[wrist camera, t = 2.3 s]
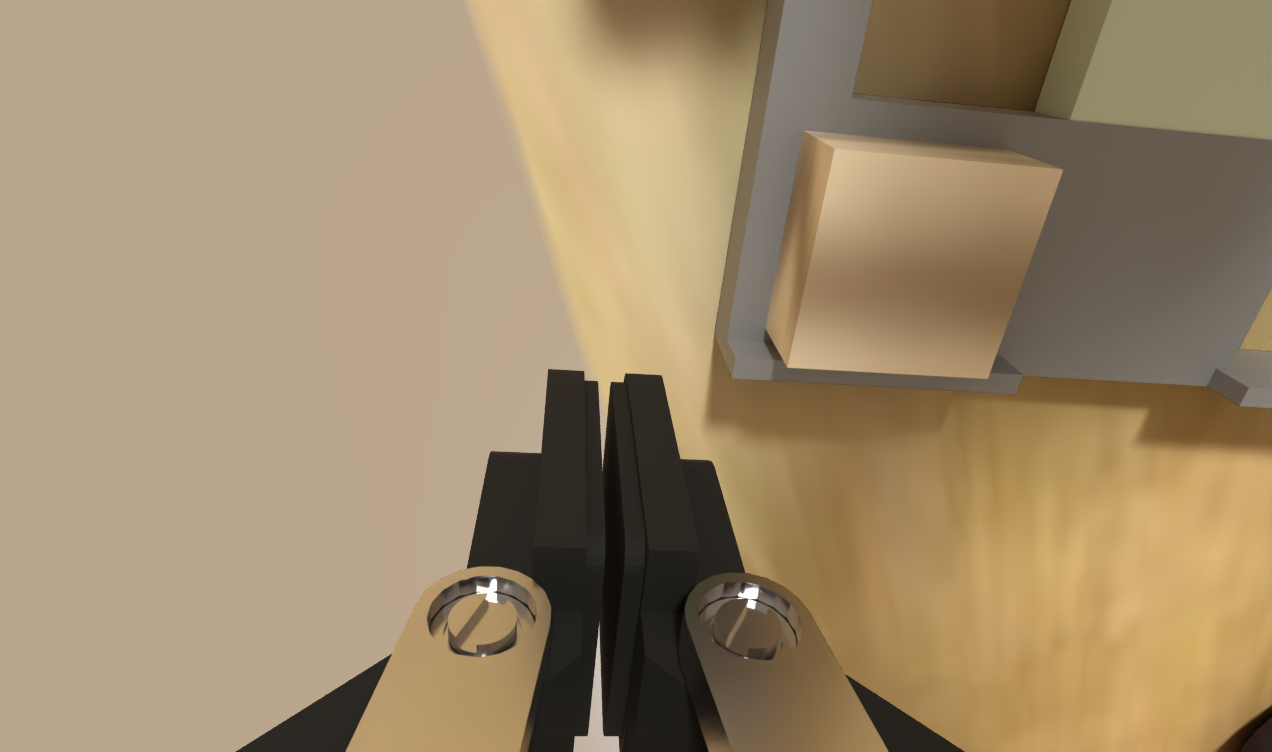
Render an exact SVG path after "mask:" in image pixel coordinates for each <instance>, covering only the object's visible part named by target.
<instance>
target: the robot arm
mask: <svg viewBox="0 0 1272 752" xmlns="http://www.w3.org/2000/svg"><path fill="white" fill-rule="evenodd" d="M541 452H542V453H519V452H495V451H491V452H490V455H489V459H488V464H487V469H486V474H485V479H484V484H483V489H482V494H481V499H480V505H479V509H478V515H477V520H476V525H475V530H474V535H473V540H472V545H471V550H470V556H469V560H468V565H467V569H464V570H459V571H457V572H455V573H452V574H450V575H448V576H446V577H443V578H441V579H440V580H439V581H437V582H436V583H434V584H433V585H432V586H431V587H429V588H428V589H427V590H426V591H425V592H424V593H423V595H422V596H421V598H420V599H419V601H418V602H417V604H416V605H415V607H414V609H413V612H412V613H411V615H410V618H409V619H408V622H407V624H406V626H405V628H404V630H403V632H402V634H401V636H400V638H399V641H398V643H397V645H396V647H395V649H394V651H393V653H392V654H391V655H389V656H388V657H386V658H384V659H383V660H381V661H380V662H378V663H377V664H375V665H373V666H372V667H370V668H368V669H367V670H366V671H364V672H362V673H361V674H359V675H357V676H356V677H354V678H353V679H351V680H349V681H348V682H346V683H345V684H343V685H342V686H340V687H338V688H337V689H335V690H333V691H332V692H330V693H329V694H327V695H325V696H324V697H322V698H321V699H319V700H317V701H316V702H314V703H313V704H311V705H310V706H308V707H306V708H305V709H303V710H302V711H300V712H298V713H297V714H295V715H294V716H292V717H290V718H289V719H287V720H286V721H284V722H282V723H281V724H279V725H278V726H276V727H274V728H273V729H271V730H270V731H268V732H266V733H265V734H263V735H262V736H260V737H259V738H257V739H255V740H254V741H252V742H251V743H249V744H247V745H246V746H244V747H243V748H241V749H239V750H238V751H236V752H573V748H574V737H575V736H587V735H588V728H589V717H590V708H591V698H592V688H593V678H594V668H595V658H596V648H597V638H598V628H599V623H600V653H601V684H602V711H603V712H602V715H603V733H604V736H619V749H620V752H964V751H963V750H961V749H960V748H958V747H957V746H955V745H954V744H952V743H950V742H949V741H947V740H946V739H944V738H943V737H941V736H940V735H938V734H937V733H935V732H933V731H932V730H930V729H929V728H927V727H926V726H924V725H923V724H921V723H920V722H918V721H917V720H915V719H913V718H912V717H910V716H909V715H907V714H906V713H904V712H903V711H901V710H900V709H898V708H897V707H895V706H893V705H892V704H890V703H889V702H887V701H886V700H884V699H883V698H881V697H880V696H878V695H876V694H875V693H873V692H872V691H870V690H869V689H867V688H866V687H864V686H863V685H861V684H860V683H858V682H856V681H855V680H853V679H852V678H850V677H849V676H847V675H846V674H845V673H844V672H843V670H842V668H841V666H840V665H839V663H838V661H837V659H836V657H835V656H834V654H833V652H832V650H831V649H830V647H829V645H828V643H827V642H826V640H825V638H824V636H823V634H822V633H821V631H820V629H819V627H818V626H817V624H816V622H815V620H814V618H813V617H812V615H811V613H810V612H809V610H808V609H807V608H806V607H805V605H804V604H803V603H802V601H801V600H800V599H799V598H798V597H797V596H796V595H794V594H793V593H792V592H790V591H789V590H788V589H787V588H785V587H784V586H782V585H780V584H778V583H776V582H774V581H772V580H770V579H767V578H765V577H761V576H757V575H753V574H749V573H745V570H744V567H743V563H742V560H741V556H740V553H739V550H738V546H737V543H736V539H735V536H734V532H733V529H732V525H731V522H730V519H729V515H728V512H727V508H726V505H725V501H724V498H723V494H722V491H721V487H720V484H719V481H718V477H717V474H716V470H715V467H714V465H713V463H712V462H711V461H710V460H686V459H680V455H679V451H678V446H677V442H676V437H675V433H674V428H673V424H672V419H671V415H670V410H669V406H668V401H667V396H666V392H665V387H664V383H663V378H662V376H661V375H645V374H627V373H626V374H625V377H624V383H621V382H611V386H610V395H609V405H608V416H607V427H606V438H605V450H604V460H603V471H602V454H601V433H600V412H599V392H598V381H584V371H572V370H552V369H548V379H547V391H546V404H545V415H544V428H543V440H542V451H541Z"/></svg>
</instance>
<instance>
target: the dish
mask: <svg viewBox="0 0 1272 752" xmlns="http://www.w3.org/2000/svg"><path fill="white" fill-rule="evenodd" d="M1241 752H1272V717H1271V718H1270V719H1269V720H1268V721H1267V722H1265V723H1264V724H1263V725H1262V726H1261V727H1260V728H1259V729H1258V730H1256V731H1255V733H1254V734H1253V735H1252V736H1251V737H1250V738H1249V740H1248V741H1247V742H1246V743H1245V744H1244V746H1243V748H1242V750H1241Z"/></svg>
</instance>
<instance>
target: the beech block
mask: <svg viewBox="0 0 1272 752" xmlns="http://www.w3.org/2000/svg"><path fill="white" fill-rule="evenodd" d="M1062 172H1063V169H1060V168H1058V167H1055V166H1052V165H1049V164H1046V163H1044V162H1041V161H1038V160H1035V159H1032V158H1030V157H1027V156H1024V155H1021V154H1018V153H1016V152H1013V151H1010V150H1007V149H999V148H988V147H978V146H967V145H956V144H945V143H935V142H924V141H913V140H902V139H891V138H881V137H870V136H859V135H848V134H837V133H827V132H816V131H805V130H804V131H803V136H802V141H801V146H800V151H799V157H798V162H797V167H796V172H795V177H794V182H793V187H792V193H791V198H790V203H789V208H788V213H787V218H786V223H785V228H784V234H783V239H782V244H781V249H780V254H779V259H778V264H777V269H776V275H775V280H774V285H773V290H772V295H771V300H770V305H769V311H768V316H767V321H766V326H765V329H766V330H767V332H768V334H769V336H770V337H771V339H772V341H773V343H774V345H775V346H776V348H777V350H778V352H779V354H780V355H781V357H782V359H783V361H784V362H785V364H786V366H787V368H803V369H820V370H838V371H856V372H873V373H891V374H909V375H926V376H944V377H962V378H979V379H988V377H989V374H990V371H991V369H992V366H993V363H994V360H995V357H996V355H997V352H998V349H999V346H1000V344H1001V341H1002V338H1003V335H1004V333H1005V330H1006V327H1007V324H1008V322H1009V319H1010V316H1011V313H1012V310H1013V308H1014V305H1015V302H1016V299H1017V297H1018V294H1019V291H1020V288H1021V286H1022V283H1023V280H1024V277H1025V275H1026V272H1027V269H1028V266H1029V263H1030V261H1031V258H1032V255H1033V252H1034V250H1035V247H1036V244H1037V241H1038V239H1039V236H1040V233H1041V230H1042V228H1043V225H1044V222H1045V219H1046V216H1047V214H1048V211H1049V208H1050V205H1051V203H1052V200H1053V197H1054V194H1055V192H1056V189H1057V186H1058V183H1059V180H1060V178H1061V175H1062Z"/></svg>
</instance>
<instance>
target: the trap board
mask: <svg viewBox="0 0 1272 752" xmlns="http://www.w3.org/2000/svg"><path fill="white" fill-rule="evenodd" d="M872 2H873V0H768V3H767V10H766V16H765V22H764V28H763V34H762V41H761V47H760V53H759V59H758V66H757V72H756V78H755V84H754V91H753V97H752V103H751V109H750V115H749V122H748V128H747V134H746V140H745V147H744V153H743V159H742V165H741V172H740V178H739V184H738V190H737V196H736V203H735V209H734V215H733V221H732V228H731V234H730V240H729V246H728V253H727V259H726V265H725V271H724V277H723V284H722V290H721V296H720V302H719V309H718V315H717V321H716V327H715V334H714V335H715V338H716V340H717V343H718V345H719V348H720V350H721V353H722V355H723V358H724V360H725V363H726V365H727V368H728V370H729V373H730V375H731V378H732V379H748V380H766V381H784V382H803V383H821V384H839V385H858V386H876V387H894V388H913V389H931V390H949V391H968V392H986V393H1004V394H1016V393H1017V390H1018V387H1019V385H1020V382H1021V380H1022V377H1023V376H1036V377H1054V378H1071V379H1089V380H1106V381H1123V382H1141V383H1158V384H1175V385H1193V386H1207V387H1209V388H1210V389H1212V390H1214V391H1215V392H1217V393H1218V394H1220V395H1222V396H1223V397H1225V398H1226V399H1228V400H1230V401H1231V402H1233V403H1235V404H1236V405H1238V406H1242V407H1261V408H1272V352H1270V351H1255V350H1239V348H1240V346H1241V344H1242V343H1243V341H1244V339H1245V337H1246V335H1247V333H1248V331H1249V329H1250V327H1251V326H1252V324H1253V322H1254V320H1255V318H1256V316H1257V314H1258V312H1259V311H1260V309H1261V307H1262V305H1263V303H1264V301H1265V299H1266V297H1267V295H1268V294H1269V292H1270V290H1271V288H1272V0H1071V2H1070V5H1069V8H1068V12H1067V15H1066V18H1065V21H1064V24H1063V27H1062V30H1061V33H1060V36H1059V39H1058V42H1057V45H1056V48H1055V51H1054V54H1053V57H1052V60H1051V63H1050V66H1049V69H1048V72H1047V75H1046V78H1045V81H1044V84H1043V87H1042V90H1041V93H1040V96H1039V99H1038V102H1037V105H1036V108H1035V111H1025V110H1014V109H1004V108H994V107H984V106H974V105H964V104H954V103H944V102H934V101H924V100H913V99H903V98H893V97H883V96H873V95H863V94H853V89H854V84H855V80H856V75H857V71H858V66H859V62H860V57H861V52H862V48H863V43H864V39H865V34H866V30H867V25H868V21H869V16H870V12H871V7H872ZM804 130H805V131H816V132H827V133H837V134H848V135H859V136H870V137H881V138H891V139H902V140H913V141H924V142H935V143H945V144H956V145H967V146H978V147H988V148H999V149H1007V150H1010V151H1013V152H1016V153H1018V154H1021V155H1024V156H1027V157H1030V158H1032V159H1035V160H1038V161H1041V162H1044V163H1046V164H1049V165H1052V166H1055V167H1058V168H1060V169H1063V172H1062V175H1061V178H1060V180H1059V183H1058V186H1057V189H1056V192H1055V194H1054V197H1053V200H1052V203H1051V205H1050V208H1049V211H1048V214H1047V216H1046V219H1045V222H1044V225H1043V228H1042V230H1041V233H1040V236H1039V239H1038V241H1037V244H1036V247H1035V250H1034V252H1033V255H1032V258H1031V261H1030V263H1029V266H1028V269H1027V272H1026V275H1025V277H1024V280H1023V283H1022V286H1021V288H1020V291H1019V294H1018V297H1017V299H1016V302H1015V305H1014V308H1013V310H1012V313H1011V316H1010V319H1009V322H1008V324H1007V327H1006V330H1005V333H1004V335H1003V338H1002V341H1001V344H1000V346H999V349H998V352H997V355H996V357H995V360H994V363H993V366H992V369H991V371H990V374H989V377H988V379H979V378H962V377H944V376H926V375H909V374H891V373H873V372H856V371H838V370H820V369H803V368H787V366H786V364H785V362H784V361H783V359H782V357H781V355H780V354H779V352H778V350H777V348H776V346H775V345H774V343H773V341H772V339H771V337H770V336H769V334H768V332H767V330H766V329H765V326H766V321H767V316H768V311H769V305H770V300H771V295H772V290H773V285H774V280H775V275H776V269H777V264H778V259H779V254H780V249H781V244H782V239H783V234H784V228H785V223H786V218H787V213H788V208H789V203H790V198H791V193H792V187H793V182H794V177H795V172H796V167H797V162H798V157H799V151H800V146H801V141H802V136H803V131H804Z"/></svg>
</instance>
